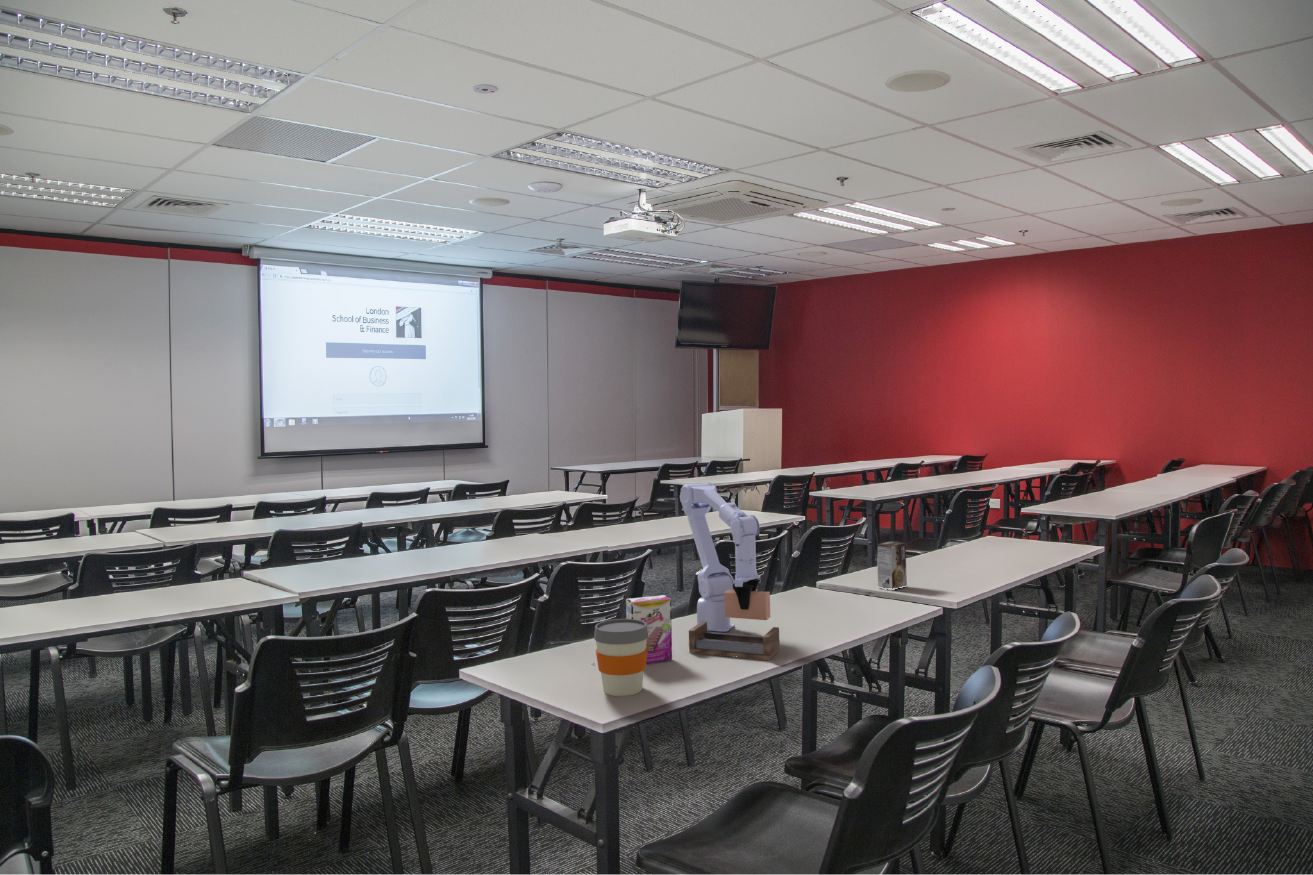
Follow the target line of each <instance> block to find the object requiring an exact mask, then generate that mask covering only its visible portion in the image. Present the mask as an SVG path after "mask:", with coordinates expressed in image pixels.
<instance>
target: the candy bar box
mask: <svg viewBox="0 0 1313 875" xmlns="http://www.w3.org/2000/svg"><path fill="white" fill-rule="evenodd" d="M625 608H626V609H625V619H636V620H641V621H644V622H646V624H647V630H648V638H647V641H646V647H647V648H648V650H647V660H646V665H647V664H654V663H655V664H656V663H660V662H661V663H663V662H669V661H672V660H673V638H672V636H673V634H672V633H673V632H672V631H673V630H672V598H671V597H669V596H667V595H666V594H663V595H662V594H661V595H653V596H651V595H650V596H642V597H641V596H640V597H632V598H630V597H629V598H626V599H625Z"/></svg>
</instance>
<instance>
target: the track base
mask: <svg viewBox="0 0 1313 875" xmlns="http://www.w3.org/2000/svg"><path fill="white" fill-rule="evenodd" d="M780 648H781V647H780V627H779V626H778V627H775V626H773V627H772V628H771V629H769V630H768V631H767V633H766V634H764V635H754V634H753V635H751V634H744V633H743V634H742V633H741V634H740V633H728V632H720V631H708V630H707V622H703V621H702V622H700V623H699V624H696V625H695V626H693V627H691V628H689V630H688V650H689V651H688V653H689V654H697V655H698V654H699V655H707V654H710V655H709V656H718V655H719V657H728V656H735V657H734V658H738V657H741V658H740V659H749V658H751V659H752V660H761V661H770V660H771V659H772V658H773V657H774V656H775V655H776V654H777V653H778V652H779V651H780ZM711 654H712V655H711ZM720 655H721V656H720ZM736 656H737V657H736ZM751 659H750V660H751Z"/></svg>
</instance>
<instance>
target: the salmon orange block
mask: <svg viewBox="0 0 1313 875" xmlns="http://www.w3.org/2000/svg"><path fill="white" fill-rule="evenodd" d="M724 595H725V617H730V619H731V618H732V619H743V620H744V619H746V620H756V621H758V620H759V621H767V620H769V619H770V618H771V592H770V591H760V590H759V591H758V590H756V591H751V594H750V602H749V608H748V610H743V609H741V608H740V605H739V601H738V597H737V595H736V592H735V590H727V591H726V592H724Z"/></svg>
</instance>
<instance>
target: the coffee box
mask: <svg viewBox="0 0 1313 875" xmlns="http://www.w3.org/2000/svg"><path fill="white" fill-rule="evenodd" d="M906 551H907V550H906V542H901V541H894V540H891V541H885V542H880V543H876V559H877V562H876V563H877V565H876V567H877V587H878V586H879V587H883V588H892V589H893V588H899V587H902V586H906V585H907V586H908V584H907V583H908V580H907V555H906Z"/></svg>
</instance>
